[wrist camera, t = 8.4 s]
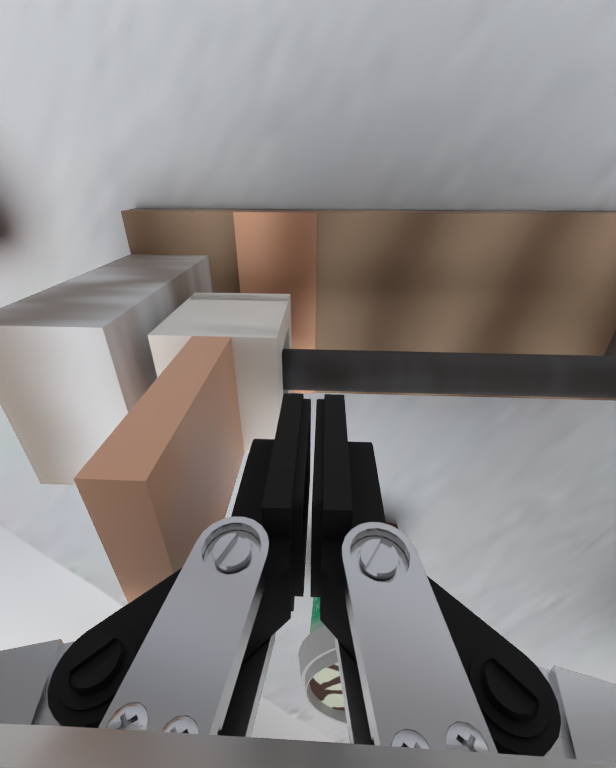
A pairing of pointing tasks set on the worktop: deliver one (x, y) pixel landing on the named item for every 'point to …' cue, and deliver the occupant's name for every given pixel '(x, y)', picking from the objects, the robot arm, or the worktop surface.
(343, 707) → the food container
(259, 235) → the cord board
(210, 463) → the sleeve
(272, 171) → the worktop surface
